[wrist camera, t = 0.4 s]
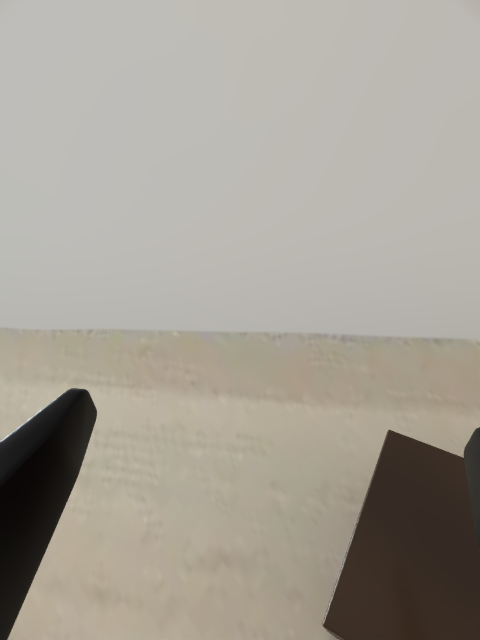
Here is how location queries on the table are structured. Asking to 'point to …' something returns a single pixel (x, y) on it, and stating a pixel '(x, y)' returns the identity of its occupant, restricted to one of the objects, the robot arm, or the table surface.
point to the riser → (411, 552)
